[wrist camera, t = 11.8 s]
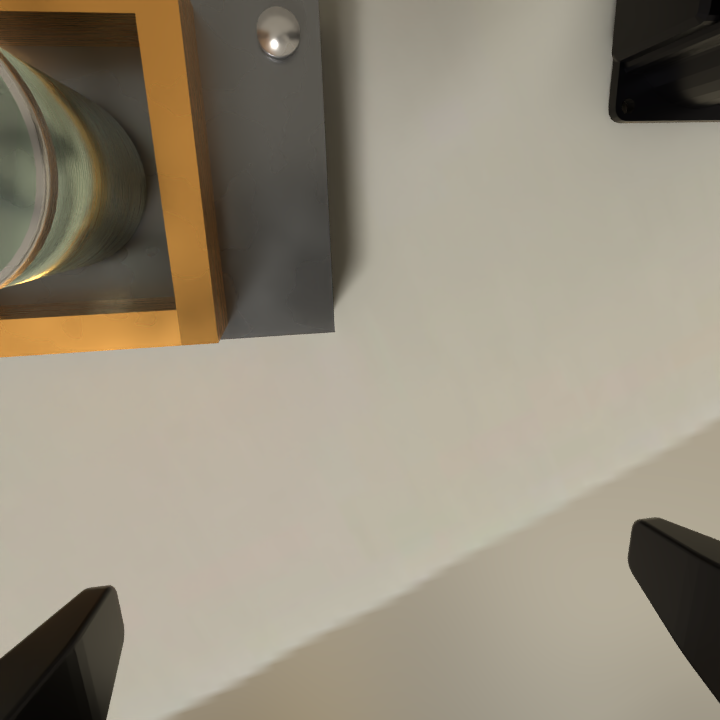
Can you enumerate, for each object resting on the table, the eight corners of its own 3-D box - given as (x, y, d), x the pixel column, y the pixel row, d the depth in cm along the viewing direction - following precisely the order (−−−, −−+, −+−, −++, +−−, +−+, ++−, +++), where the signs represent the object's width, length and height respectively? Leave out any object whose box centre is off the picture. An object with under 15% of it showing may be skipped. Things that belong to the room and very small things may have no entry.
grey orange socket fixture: (313, 20, 16) (324, -58, 12) (328, 317, 19) (342, 351, 15) (-321, 11, 14) (-625, -91, 9) (-197, 349, 17) (-383, 402, 12)
